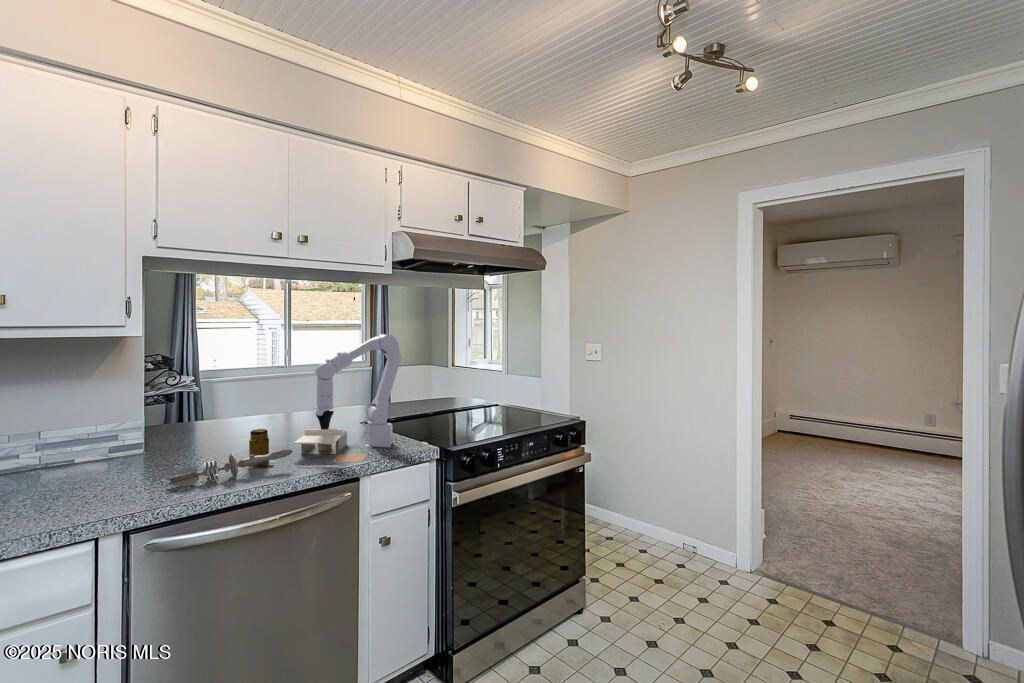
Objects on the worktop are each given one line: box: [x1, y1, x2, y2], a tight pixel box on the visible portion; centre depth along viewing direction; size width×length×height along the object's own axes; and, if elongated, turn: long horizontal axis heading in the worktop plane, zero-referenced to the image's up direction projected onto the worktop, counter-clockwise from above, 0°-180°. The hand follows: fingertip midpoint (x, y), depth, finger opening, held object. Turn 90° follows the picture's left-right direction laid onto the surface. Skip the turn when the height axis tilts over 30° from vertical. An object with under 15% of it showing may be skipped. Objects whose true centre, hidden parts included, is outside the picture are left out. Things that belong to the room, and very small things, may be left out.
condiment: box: [245, 428, 275, 469], centre depth 175 cm, size 7×8×12 cm
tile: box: [332, 453, 368, 463], centre depth 183 cm, size 10×10×1 cm
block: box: [317, 444, 333, 451], centre depth 194 cm, size 4×4×5 cm
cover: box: [293, 428, 344, 445], centre depth 186 cm, size 14×13×2 cm
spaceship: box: [166, 449, 293, 487], centre depth 161 cm, size 8×35×8 cm
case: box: [300, 430, 348, 455], centre depth 194 cm, size 13×13×6 cm
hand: (324, 430), depth 194 cm, fingers closed
